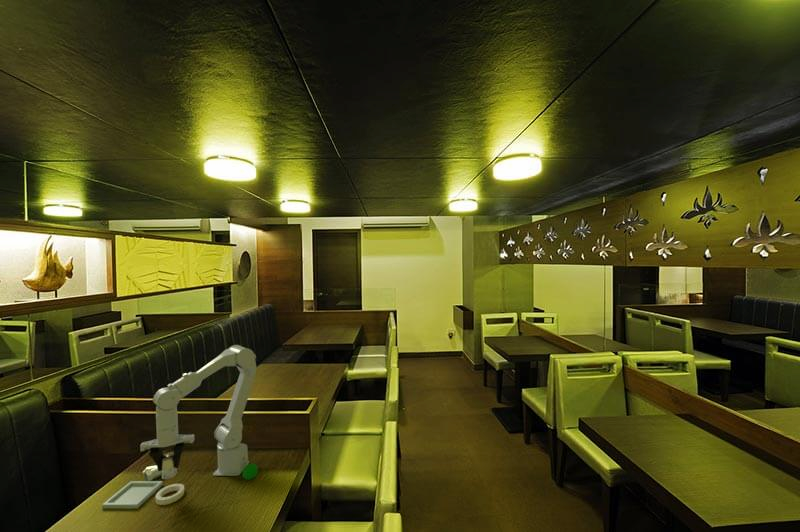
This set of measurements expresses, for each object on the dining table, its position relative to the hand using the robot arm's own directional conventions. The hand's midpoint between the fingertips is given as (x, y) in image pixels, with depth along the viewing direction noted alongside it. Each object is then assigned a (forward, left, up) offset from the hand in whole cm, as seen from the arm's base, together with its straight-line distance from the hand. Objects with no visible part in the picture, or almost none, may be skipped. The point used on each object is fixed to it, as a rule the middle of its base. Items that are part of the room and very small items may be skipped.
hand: (169, 467), depth 111 cm
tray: (+12, 0, -9) cm, 15 cm away
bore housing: (0, 0, -9) cm, 9 cm away
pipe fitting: (+13, -11, -10) cm, 20 cm away
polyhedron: (-22, -9, -10) cm, 26 cm away
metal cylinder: (0, 0, -2) cm, 2 cm away
